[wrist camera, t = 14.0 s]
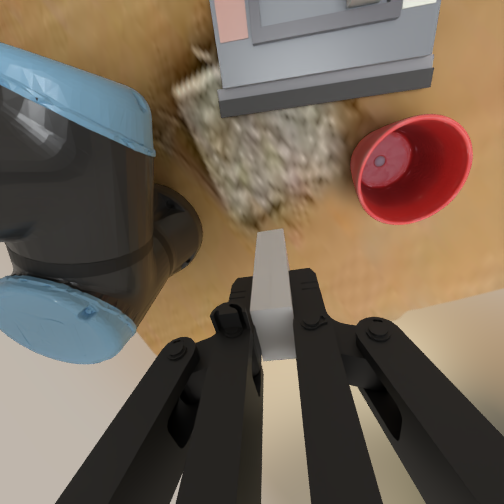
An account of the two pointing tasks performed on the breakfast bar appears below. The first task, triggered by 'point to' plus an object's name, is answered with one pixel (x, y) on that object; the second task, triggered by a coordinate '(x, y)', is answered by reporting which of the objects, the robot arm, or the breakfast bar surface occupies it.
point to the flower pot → (411, 168)
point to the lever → (360, 2)
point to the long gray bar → (327, 87)
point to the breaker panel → (316, 36)
